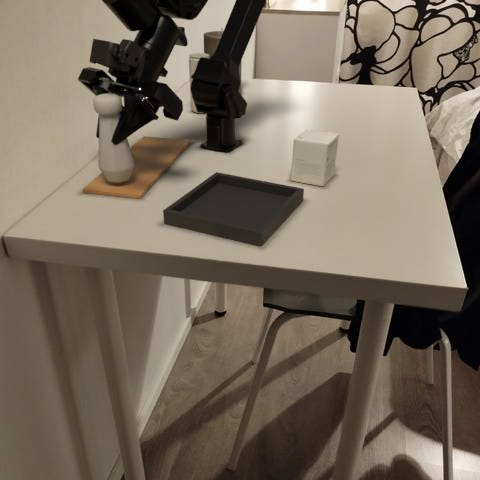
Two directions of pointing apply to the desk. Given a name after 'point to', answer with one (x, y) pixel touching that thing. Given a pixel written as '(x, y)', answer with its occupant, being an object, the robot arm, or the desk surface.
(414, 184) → the desk surface
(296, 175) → the product box
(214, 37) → the pillar candle
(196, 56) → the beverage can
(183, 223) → the tray
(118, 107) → the salt shaker
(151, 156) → the wooden board
